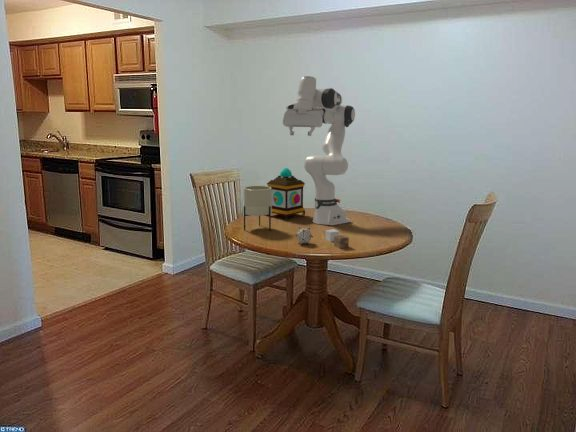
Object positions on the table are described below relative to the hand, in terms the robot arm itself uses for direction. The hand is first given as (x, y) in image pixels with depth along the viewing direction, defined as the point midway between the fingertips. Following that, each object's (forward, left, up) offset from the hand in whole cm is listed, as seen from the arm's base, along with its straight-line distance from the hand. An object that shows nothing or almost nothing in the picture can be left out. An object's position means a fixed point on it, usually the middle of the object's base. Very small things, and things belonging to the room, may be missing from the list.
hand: (300, 135), depth 229 cm
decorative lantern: (-15, -48, -52) cm, 72 cm away
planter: (+13, -25, -52) cm, 59 cm away
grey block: (-13, +12, -52) cm, 55 cm away
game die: (+3, +12, -52) cm, 54 cm away
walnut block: (-11, +24, -52) cm, 58 cm away
